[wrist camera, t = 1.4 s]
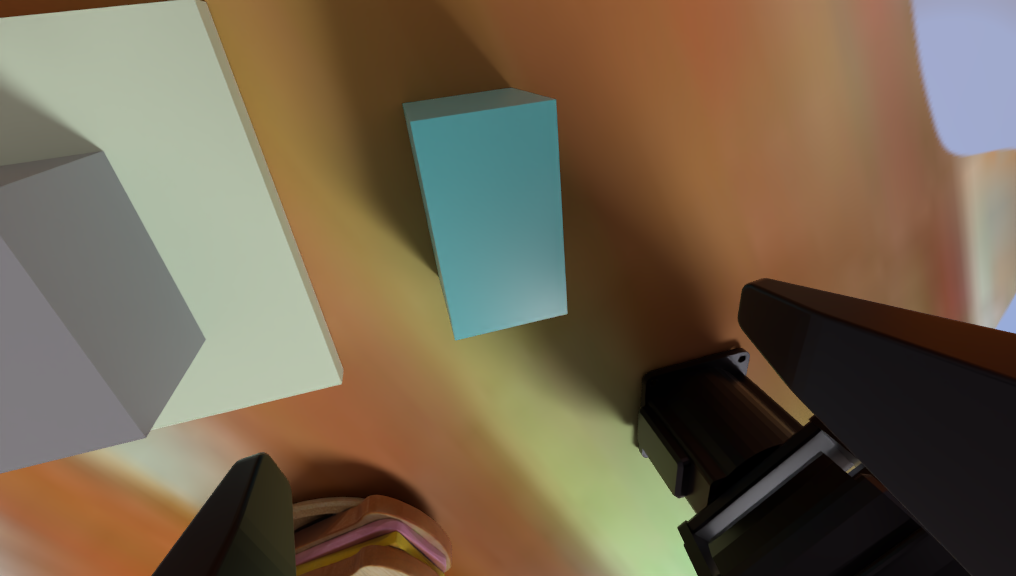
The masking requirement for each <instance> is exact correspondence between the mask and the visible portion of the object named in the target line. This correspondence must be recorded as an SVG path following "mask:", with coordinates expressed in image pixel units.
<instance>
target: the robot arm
mask: <svg viewBox="0 0 1016 576" xmlns="http://www.w3.org/2000/svg"><path fill="white" fill-rule="evenodd" d="M738 322H739V325H740V327H741V329H742V330H743V332H744V333H745V334H746V335H747V337H748V338H749V339H750V340H751V342H752V343H753V344H754V345H755V346H756V348H757V349H758V350H759V351H760V353H761V354H762V355H763V356H764V358H765V359H766V360H767V361H768V363H769V364H770V365H771V366H772V368H773V369H774V370H775V371H776V373H777V374H778V375H779V376H780V378H781V379H782V380H783V381H784V382H785V384H786V385H787V386H788V387H789V388H790V389H791V391H792V392H793V393H794V394H795V395H796V396H797V397H798V398H799V399H800V400H801V401H802V402H803V403H804V404H805V405H806V406H807V407H808V408H809V409H810V410H811V412H812V413H813V414H814V415H813V416H812V417H811V418H809V420H810V421H809V422H808V423H807V424H806V425H805V426H802V425H801V424H800V423H799V422H798V421H797V420H795V419H794V418H793V417H792V416H791V415H790V414H789V413H788V412H786V411H785V410H784V409H783V408H782V407H781V406H780V405H779V404H777V403H776V402H775V401H774V400H773V399H772V398H771V397H769V396H768V395H767V394H766V393H765V392H764V391H763V390H762V389H760V388H759V387H758V386H757V385H756V384H755V383H754V382H752V381H751V380H750V379H749V378H748V377H747V376H746V373H747V368H748V363H749V358H750V354H749V353H748V352H747V351H746V350H744V349H743V348H737V349H733V350H729V351H726V352H722V353H718V354H714V355H711V356H707V357H703V358H700V359H696V360H692V361H688V362H685V363H681V364H677V365H673V366H670V367H666V368H662V369H658V370H655V371H651V372H649V373H647V374H646V375H645V376H644V377H643V379H642V393H641V408H640V410H639V417H638V439H637V440H638V442H639V451H640V453H641V454H642V456H643V457H645V458H648V457H649V459H650V460H651V462H652V464H653V465H654V467H655V468H656V470H657V471H658V473H659V474H660V476H661V477H662V479H663V480H664V482H665V483H666V485H667V486H668V488H669V489H670V491H671V492H672V494H673V495H674V496H676V497H677V498H682V497H685V498H686V499H687V501H688V502H689V504H690V505H691V507H692V508H693V510H694V511H695V513H696V515H695V516H694V517H693V518H691V519H690V520H689V521H686V520H685V521H684V522H683V523H682V524H681V525H679V526H678V527H677V528H678V530H679V533H680V535H681V537H682V539H683V541H684V547H685V549H686V551H687V554H688V556H689V558H690V560H691V562H692V564H693V566H694V569H695V571H696V573H697V575H698V576H1016V334H1015V333H1010V332H1006V331H1001V330H997V329H993V328H988V327H984V326H979V325H975V324H970V323H966V322H961V321H957V320H952V319H948V318H943V317H939V316H934V315H930V314H925V313H921V312H916V311H912V310H907V309H903V308H898V307H894V306H889V305H885V304H880V303H876V302H871V301H867V300H862V299H858V298H853V297H849V296H844V295H840V294H835V293H831V292H827V291H822V290H818V289H813V288H809V287H804V286H800V285H795V284H791V283H786V282H782V281H777V280H773V279H768V278H763V279H759V280H756V281H753V282H750V283H748V284H746V285H745V286H744V287H743V289H742V293H741V299H740V305H739V311H738ZM652 380H653V381H652ZM852 466H855V467H856V468H854V469H853V470H852V471H851V472H849V473H848V474H847V473H846V471H847V470H848V469H850V468H851V467H852ZM152 576H296V558H295V540H294V522H293V504H292V491H291V487H290V484H289V481H288V480H287V478H286V477H285V475H284V474H283V473H282V471H281V470H280V469H279V467H278V466H277V465H276V463H275V462H274V461H273V459H272V458H271V457H270V456H269V455H268V454H267V453H264V452H262V453H257V454H255V455H252V456H249V457H246V458H243V459H241V460H239V461H237V462H236V463H235V464H234V465H233V466H232V468H231V469H230V470H229V472H228V473H227V474H226V476H225V477H224V479H223V480H222V481H221V483H220V484H219V485H218V487H217V488H216V489H215V491H214V492H213V493H212V495H211V496H210V497H209V499H208V500H207V501H206V503H205V504H204V505H203V507H202V508H201V510H200V511H199V512H198V514H197V515H196V516H195V518H194V519H193V520H192V522H191V523H190V524H189V526H188V527H187V528H186V530H185V531H184V532H183V534H182V535H181V537H180V538H179V539H178V541H177V542H176V543H175V545H174V546H173V547H172V549H171V550H170V551H169V553H168V554H167V555H166V557H165V558H164V559H163V561H162V562H161V563H160V565H159V566H158V568H157V569H156V570H155V572H154V573H153V574H152Z"/></svg>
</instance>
